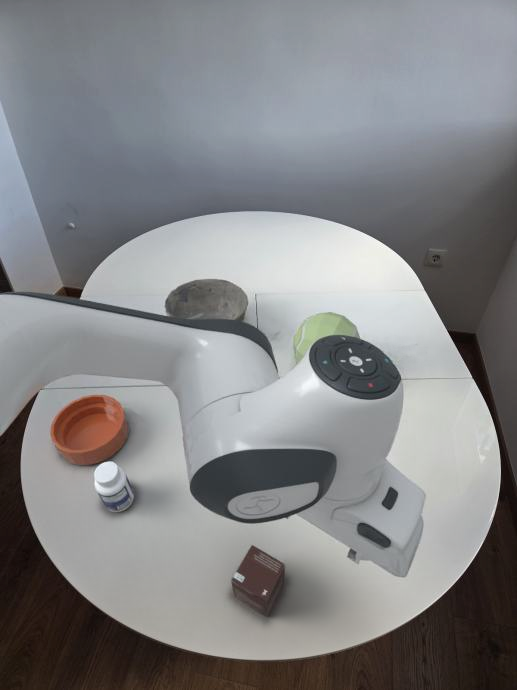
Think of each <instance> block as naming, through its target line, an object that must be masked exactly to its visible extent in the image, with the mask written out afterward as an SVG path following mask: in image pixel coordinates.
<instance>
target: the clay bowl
mask: <svg viewBox="0 0 517 690" xmlns="http://www.w3.org/2000/svg"><path fill="white" fill-rule="evenodd" d="M129 425H130V424H129V420H128V417H127V415H126V413H125V410H124V408H123V406H122V404H121V403H120V402H119V401H118V400H117V399H115V398H114V397H111V396H109V395H106V394H91V395H87V396H82V397H79V398H77V399H74V400H72V401H71V402H69V403H68V404H66V405H65V406H64V407H62V408H61V410H60V411H59V412H58V413H57V414H56V415H55V417H54V418H53V421H52V423H51V425H50V432H49V434H50V438H51V441H52V443H53V446H54V447H55V449H56V450H57V452H58V454H59V455H60V456H61V457H62V458H63V459H64V460H65V461H66V462H68V463H71V464H74V465H75V466H90V465H94V464H98V463H101V462H103V461H105V460H108V459H109V458H111V457H113V456H114V455H115V454H116V453H117V452H118V451H120V449H122V447H123V445H124V444H125V442H126V441H127V438H128V435H129V432H130V429H129V427H130V426H129Z"/></svg>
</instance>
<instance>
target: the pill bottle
mask: <svg viewBox="0 0 517 690" xmlns="http://www.w3.org/2000/svg"><path fill="white" fill-rule="evenodd" d="M93 476H94V488H95V491H96V493H97V494H98V496H99V497H100V499H101V501H102V503H103V505H104V506H105V508H106V509H107V510H108V511H110V512H112V513H120V512H123V511H126V510H127V509H128V508H129V507H130V506H131V505H132V503H133V502H134V498H135V493H134V490H133V486H132V484H131V482H130V480H129V478H128V476H127V473H126V471H125V470H124V469H123V468H121V467H120V466H118V465H117V463H115V462H113V461H105V462H102V463H100V464H99V465H98V466H97V467H96V468H95V470H94V473H93Z"/></svg>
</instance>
